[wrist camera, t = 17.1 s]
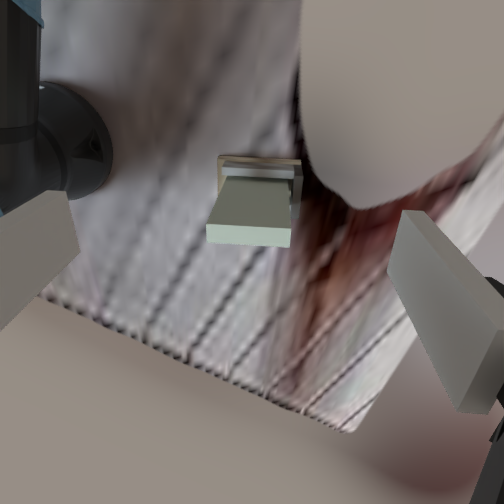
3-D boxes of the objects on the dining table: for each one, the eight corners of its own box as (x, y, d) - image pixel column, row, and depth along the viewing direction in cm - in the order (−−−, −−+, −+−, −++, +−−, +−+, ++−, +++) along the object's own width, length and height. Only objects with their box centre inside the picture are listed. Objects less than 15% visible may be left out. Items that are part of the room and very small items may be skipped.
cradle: (219, 197, 50) (211, 215, 45) (219, 155, 47) (210, 169, 42) (296, 202, 50) (298, 220, 44) (300, 159, 47) (303, 174, 41)
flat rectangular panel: (228, 195, 48) (207, 251, 34) (227, 173, 47) (206, 223, 33) (285, 198, 48) (288, 256, 34) (287, 176, 47) (291, 228, 33)
